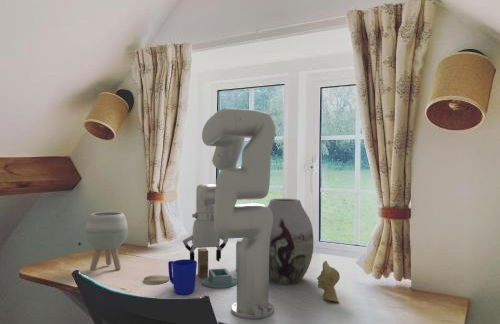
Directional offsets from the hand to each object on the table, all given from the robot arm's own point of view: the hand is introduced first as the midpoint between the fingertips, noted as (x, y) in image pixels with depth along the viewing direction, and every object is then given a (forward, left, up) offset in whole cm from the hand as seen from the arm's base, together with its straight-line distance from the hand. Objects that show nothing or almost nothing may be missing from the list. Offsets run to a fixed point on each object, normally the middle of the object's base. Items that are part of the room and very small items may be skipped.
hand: (205, 261), depth 144 cm
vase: (-11, -28, -6) cm, 31 cm away
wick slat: (+1, +1, -6) cm, 6 cm away
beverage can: (+6, -17, -6) cm, 19 cm away
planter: (+21, +37, -6) cm, 43 cm away
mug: (-14, +11, -6) cm, 18 cm away
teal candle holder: (-8, -4, -6) cm, 11 cm away
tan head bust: (-34, -34, -6) cm, 48 cm away
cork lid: (0, +18, -6) cm, 19 cm away
